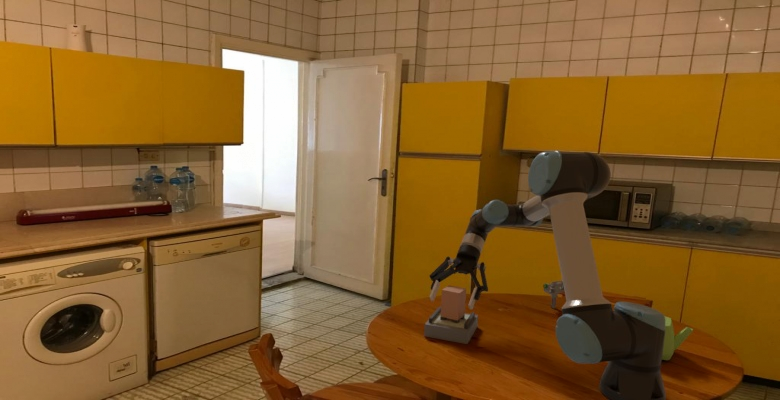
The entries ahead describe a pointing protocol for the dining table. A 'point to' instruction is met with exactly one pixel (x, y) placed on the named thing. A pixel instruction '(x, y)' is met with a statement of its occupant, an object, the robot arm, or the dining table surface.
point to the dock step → (451, 327)
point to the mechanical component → (554, 290)
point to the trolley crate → (453, 303)
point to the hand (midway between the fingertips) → (450, 303)
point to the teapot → (673, 339)
